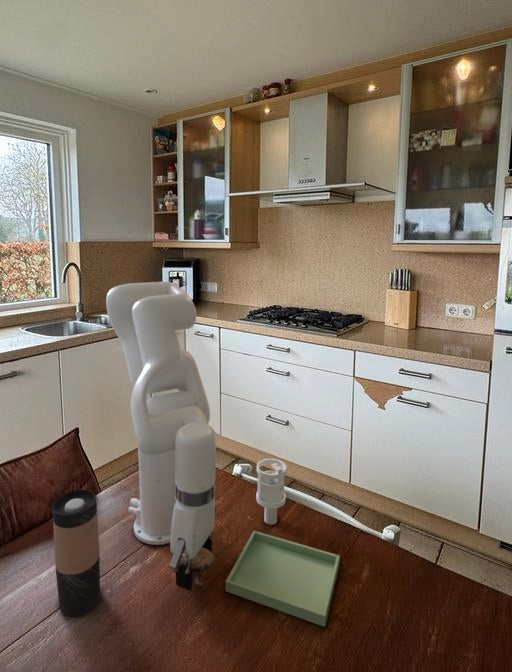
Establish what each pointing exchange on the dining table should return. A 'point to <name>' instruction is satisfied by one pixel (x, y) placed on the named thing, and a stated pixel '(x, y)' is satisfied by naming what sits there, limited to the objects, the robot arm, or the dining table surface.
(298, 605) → the tray
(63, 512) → the travel mug
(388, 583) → the dining table surface
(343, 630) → the dining table surface
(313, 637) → the dining table surface
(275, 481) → the white open cylindrical frame
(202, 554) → the mushroom
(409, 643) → the dining table surface
